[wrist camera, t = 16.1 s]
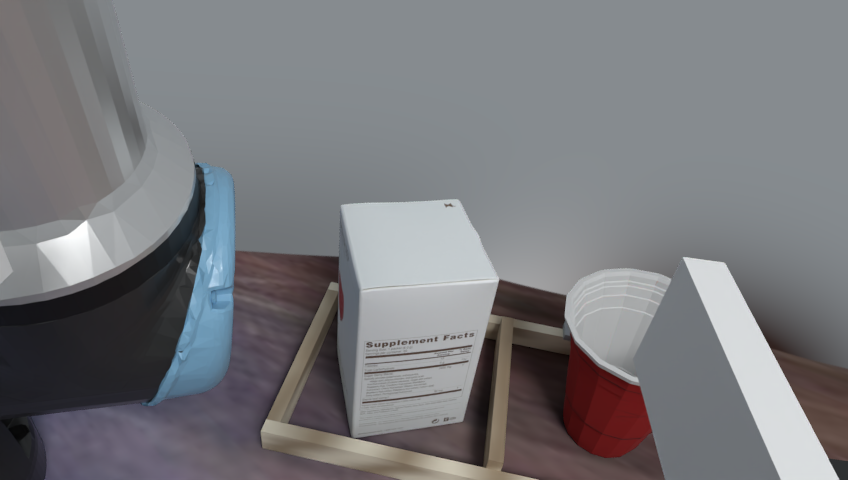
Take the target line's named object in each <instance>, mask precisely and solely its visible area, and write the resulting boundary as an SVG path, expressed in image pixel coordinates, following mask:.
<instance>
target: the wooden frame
mask: <svg viewBox="0 0 848 480" xmlns="http://www.w3.org/2000/svg"><path fill="white" fill-rule="evenodd" d="M338 286H339V283H334V282H331V283H330V286H329V288H328V290H327V292H326V294H325V296H324V298H323V300H322V302H321V305H320V307H319V309H318V311H317V313H316V315H315V317H314V319H313V322H312V324H311V326H310V328H309V330H308V332H307V334H306V336H305V338H304V341H303V343H302V345H301V347H300V349H299V351H298V353H297V355H296V358H295V360H294V362H293V364H292V366H291V368H290V370H289V372H288V374H287V377H286V379H285V381H284V383H283V385H282V387H281V389H280V391H279V393H278V396H277V398H276V400H275V402H274V404H273V406H272V408H271V410H270V413H269V415H268V417H267V419H266V421H265V423H264V425H263V427H262V429H261V439H262V448H264V449H268V450H273V451H277V452H282V453H286V454H290V455H295V456H299V457H304V458H308V459H312V460H317V461H321V462H326V463H330V464H335V465H339V466H343V467H348V468H352V469H357V470H361V471H365V472H370V473H374V474H379V475H383V476H388V477H392V478H396V479H401V480H538V479H533V478H529V477H524V476H520V475H515V474H511V473H506V472H502V471H501V469H502V466H503V463H504V449H505V435H506V421H507V407H508V393H509V379H510V365H511V351H512V344H517V345H522V346H527V347H532V348H537V349H542V350H546V351H551V352H556V353H561V354H566V355H570V348H571V345H570V343H571V336H570V330H569V328H568V326H567V323H566V322H564V325H563V329H561V328H556V327H551V326H546V325H541V324H536V323H531V322H526V321H521V320H516V319H514V318H510V317H505V316H502V317H501V316H497V315H492V314H490V318H489V321H488V325H487V329H486V333H485V337H484V338H488V339H493V340H496V344H495V353H494V363H493V373H492V383H491V392H490V402H489V412H488V421H487V431H486V441H485V451H484V460H483V467H479V466H475V465H470V464H466V463H461V462H457V461H452V460H448V459H443V458H439V457H434V456H430V455H425V454H421V453H416V452H412V451H407V450H403V449H398V448H394V447H389V446H385V445H380V444H376V443H371V442H367V441H362V440H358V439H353V438H349V437H344V436H340V435H335V434H331V433H326V432H322V431H317V430H313V429H308V428H304V427H299V426H295V425H290V424H288V422H289V420H290V418H291V416H292V413H293V411H294V409H295V406H296V404H297V402H298V399H299V397H300V395H301V392H302V390H303V388H304V386H305V383H306V381H307V379H308V376H309V374H310V372H311V369H312V367H313V365H314V362H315V360H316V358H317V356H318V353H319V351H320V349H321V346H322V344H323V342H324V339H325V337H326V335H327V332H328V330H329V328H330V326H331V323H332V321H333V319H334V316H335V314H336V312H337V309H338Z"/></svg>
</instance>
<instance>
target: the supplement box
mask: <svg viewBox="0 0 848 480" xmlns="http://www.w3.org/2000/svg"><path fill="white" fill-rule="evenodd" d="M498 282H499V277H498V275H497V273H496V271H495V269H494V268H493V265H492V263H491V261H490V260H489V258H488V256H487V254H486V252H485V250H484V248H483V246H482V244H481V240H480V237H479V235H478V233H477V232H476V231H475V229H474V228H473V226H472V224H471V222H470V220H469V218H468V216H467V214H466V212H465V210H464V208H463V206H462V204H461V202H460V201H459V200H458V199H452V200H436V201H419V202H418V201H417V202H395V203H394V202H390V203H389V202H388V203H356V204H346V205H341V208H340V245H339V286H338V331H337V354H338V361H339V368H340V374H341V380H342V386H343V393H344V399H345V405H346V411H347V417H348V423H349V429H350V434H351V437H352V438H360V437H366V436H373V435H380V434H386V433H393V432H400V431H406V430H413V429H419V428H426V427H432V426H438V425H445V424H451V423H458V422H462V421H463V419H464V415H465V412H466V408H467V404H468V400H469V396H470V392H471V388H472V384H473V380H474V376H475V372H476V368H477V364H478V360H479V356H480V353H481V349H482V345H483V341H484V337H485V333H486V329H487V325H488V321H489V318H490V314H491V310H492V306H493V302H494V298H495V294H496V290H497V286H498Z"/></svg>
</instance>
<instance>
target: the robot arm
mask: <svg viewBox="0 0 848 480" xmlns="http://www.w3.org/2000/svg"><path fill="white" fill-rule="evenodd" d="M234 272H235V191H234V181H233V178H232V176H231V174H230V173H229V172H228V171H226V170H225V169H223V168H220V167H213V166H210V165H208V164H207V163H194V159H193V156H192V153H191V151H190V148H189V145H188V142H187V140H186V139H185V137H184V136H183V134H182V133H181V132H180V130H179V129H178V128H177V127H176V126H175V125H174V124H173V123H172V122H171V121H170V120H169V119H168V118H166V117H165V116H163V115H162V114H161V113H160V112H158V111H156V110H155V109H153V108H151V107H149V106H148V105H146V104H144V103H141V102H139V99H138V95H137V91H136V87H135V83H134V80H133V76H132V72H131V68H130V64H129V61H128V57H127V53H126V49H125V45H124V41H123V38H122V33H121V30H120V26H119V22H118V18H117V14H116V10H115V7H114V3H113V0H0V480H44V477H45V470H46V456H45V449H44V445H43V442H42V440H41V438H40V436H39V434H38V432H37V430H36V428H35V426H34V424H33V422H32V420H31V418H30V416H35V415H44V414H52V413H60V412H69V411H77V410H85V409H94V408H102V407H110V406H119V405H127V404H135V403H141V404H142V405H143V406H154V405H157V404H158V403H160V402H161V401H162V400H165V399H171V398H176V397H182V396H188V395H194V394H200V393H203V392H206V391H208V390H210V389H212V388H213V387H215V386H216V385H217V384H219V383H220V382H221V380H222V379H223V378H224V376H225V374H226V372H227V370H228V367H229V363H230V356H231V346H232V331H233V296H232V292H233V289H234ZM633 361H634V365H635V369H636V372H637V376H638V380H639V384H640V387H641V391H642V395H643V399H644V402H645V406H646V410H647V414H648V417H649V421H650V425H651V429H652V432H653V436H654V440H655V444H656V447H657V451H658V455H659V459H660V462H661V466H662V470H663V474H664V477H665V480H848V461H842V460H835V459H828V457H827V455H826V453H825V452H824V450H823V448H822V446H821V444H820V442H819V440H818V438H817V436H816V435H815V433H814V431H813V429H812V427H811V425H810V423H809V421H808V419H807V417H806V416H805V414H804V412H803V410H802V408H801V406H800V404H799V402H798V400H797V399H796V397H795V395H794V393H793V391H792V389H791V387H790V385H789V383H788V382H787V380H786V378H785V376H784V374H783V372H782V370H781V368H780V366H779V364H778V363H777V361H776V359H775V357H774V355H773V353H772V351H771V349H770V347H769V346H768V344H767V342H766V340H765V338H764V336H763V334H762V332H761V330H760V328H759V327H758V325H757V323H756V321H755V319H754V317H753V315H752V314H751V311H750V310H749V308H748V306H747V304H746V302H745V300H744V298H743V296H742V295H741V293H740V291H739V289H738V287H737V285H736V283H735V281H734V279H733V277H732V275H731V274H730V272H729V270H728V268H727V266H726V264H725V263H723V262H715V261H708V260H701V259H694V258H686V257H682V259H681V262H680V263H679V266H678V268H677V270H676V272H675V274H674V276H673V278H672V280H671V282H670V284H669V286H668V288H667V290H666V292H665V294H664V296H663V298H662V300H661V303H660V305H659V307H658V309H657V311H656V313H655V315H654V317H653V319H652V321H651V323H650V325H649V327H648V329H647V331H646V333H645V335H644V337H643V340H642V342H641V344H640V346H639V348H638V350H637V352H636V354H635V356H634V358H633Z"/></svg>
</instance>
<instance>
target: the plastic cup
mask: <svg viewBox="0 0 848 480" xmlns="http://www.w3.org/2000/svg"><path fill="white" fill-rule="evenodd" d="M671 280H672V279H670V278H668V277H665V276H663V275H661V274H658V273H653V272H648V271H642V270H637V269H632V268H622V269H608V270H607V269H606V270H601V271H598V272H596V273H593V274H591V275H589V276H586V277H584V278H581V279H580V280H579V281H578V282H577V283H576V285H575V286H574V287H573V288H572V289H571V290H570V292H569V293H568V294H567V298H566V307H565V321H566V323H567V326H568V328H569V330H570V336H571V343H570V345H571V348H570V356H569V364H568V372H567V380H566V392H565V393H566V394H565V400H564V409H563V417H564V420H563V421H564V424H565V427H566V429H567V432H568V434H569V435H570V436H571V437H572V439H573V440H574V441H575V442H576V443H577V445H579V446H580V447H582V448H583V449H585V450H586V451H588V452H590V453H591V454H595V455H598V456H601V457H605V458H611V457H621V456H622V455H624V454H626V453H628V452H629V451H631V450H633V449H634V448H636V447H637V446H638V445H639V444H640V443H641V442H642V441H643V440H644V439H645V438H646V436H647V435H648V434H650V433H652V429H651V425H650V421H649V417H648V414H647V410H646V406H645V402H644V399H643V395H642V391H641V387H640V384H639V380H638V376H637V372H636V369H635V365H634V361H633V358H634V356H635V354H636V352H637V350H638V348H639V346H640V344H641V342H642V340H643V337H644V335H645V333H646V331H647V329H648V327H649V325H650V323H651V321H652V319H653V317H654V315H655V313H656V311H657V309H658V307H659V305H660V303H661V300H662V298H663V296H664V294H665V292H666V290H667V288H668V286H669V284H670V282H671Z"/></svg>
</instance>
